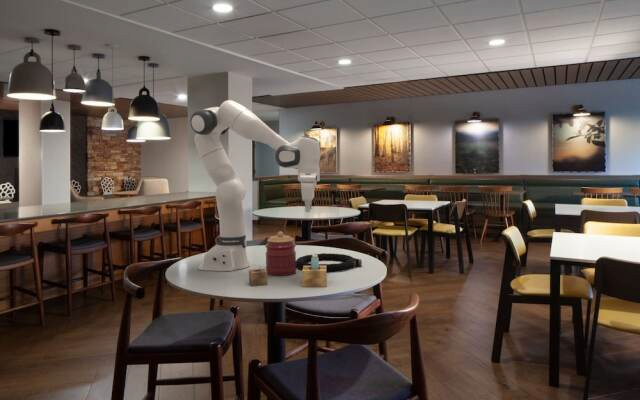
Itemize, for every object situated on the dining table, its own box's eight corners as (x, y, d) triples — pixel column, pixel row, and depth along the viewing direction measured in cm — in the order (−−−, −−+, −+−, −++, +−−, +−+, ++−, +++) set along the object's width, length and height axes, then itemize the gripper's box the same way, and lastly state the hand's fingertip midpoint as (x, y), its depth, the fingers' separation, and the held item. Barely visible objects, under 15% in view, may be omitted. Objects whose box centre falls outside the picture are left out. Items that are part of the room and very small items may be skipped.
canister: (292, 276, 189) (291, 233, 187) (262, 275, 191) (260, 233, 189) (299, 269, 201) (298, 229, 200) (270, 268, 204) (269, 229, 202)
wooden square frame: (302, 286, 172) (302, 271, 172) (303, 280, 181) (303, 265, 181) (326, 286, 172) (326, 270, 172) (326, 280, 181) (326, 265, 181)
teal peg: (311, 284, 175) (311, 255, 175) (311, 282, 178) (311, 254, 177) (318, 284, 175) (318, 255, 175) (318, 282, 178) (318, 254, 177)
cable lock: (303, 251, 224) (364, 253, 218) (303, 259, 224) (364, 261, 218) (287, 264, 197) (357, 265, 191) (288, 272, 197) (357, 274, 191)
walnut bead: (251, 286, 175) (251, 273, 174) (249, 282, 180) (248, 269, 180) (267, 284, 176) (267, 271, 176) (264, 280, 182) (263, 268, 182)
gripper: (302, 175, 197) (302, 208, 198) (299, 177, 176) (298, 213, 177) (317, 176, 196) (317, 208, 197) (315, 177, 176) (314, 213, 177)
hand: (308, 210), depth 187 cm, fingers open, 8 cm apart
